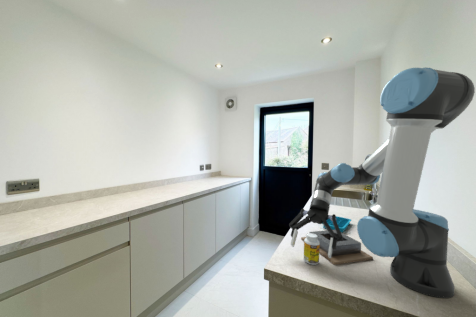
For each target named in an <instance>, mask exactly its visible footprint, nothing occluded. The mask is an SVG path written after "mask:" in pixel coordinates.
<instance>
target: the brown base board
mask: <svg viewBox="0 0 476 317" xmlns="http://www.w3.org/2000/svg"><path fill="white" fill-rule="evenodd" d="M305 238H306V236H302V237H300V240H301V241H303V242H304V239H305ZM319 255H321V256H322V257H323V258H324V259H326V260H328V262H330V263H331V264H332V265H334V266H335V265H343V264H344V265H345V264H351V263H357V262H364V261H371V260H373V259H374V256H372V255H370V254H369V253H367V252H365V251H364V250H362V249H361V253H354V254H346V255H339V256H331V258H329V257H328V254H327V253H326V252H324V251H323V250H322V249H320V248H319Z"/></svg>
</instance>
